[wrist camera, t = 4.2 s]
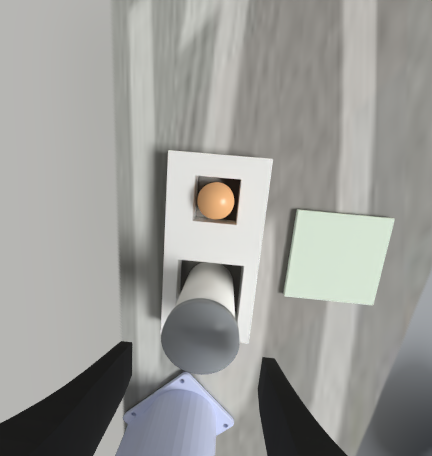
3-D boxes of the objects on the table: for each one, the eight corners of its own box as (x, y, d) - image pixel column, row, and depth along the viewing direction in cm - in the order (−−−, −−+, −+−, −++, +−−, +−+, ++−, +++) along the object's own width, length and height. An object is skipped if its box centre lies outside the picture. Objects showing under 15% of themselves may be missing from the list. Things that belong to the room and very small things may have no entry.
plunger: (231, 216, 20) (232, 221, 18) (199, 213, 20) (196, 217, 18) (235, 183, 19) (236, 184, 17) (202, 180, 19) (198, 180, 17)
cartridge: (207, 315, 22) (196, 387, 15) (174, 279, 22) (145, 334, 14) (245, 287, 22) (255, 347, 14) (213, 249, 21) (204, 289, 13)
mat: (369, 302, 21) (373, 305, 21) (283, 293, 22) (284, 296, 21) (390, 217, 20) (394, 218, 19) (296, 209, 20) (298, 209, 19)
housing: (246, 329, 23) (248, 343, 21) (166, 320, 23) (160, 334, 21) (268, 161, 19) (273, 159, 17) (174, 153, 20) (168, 150, 18)
